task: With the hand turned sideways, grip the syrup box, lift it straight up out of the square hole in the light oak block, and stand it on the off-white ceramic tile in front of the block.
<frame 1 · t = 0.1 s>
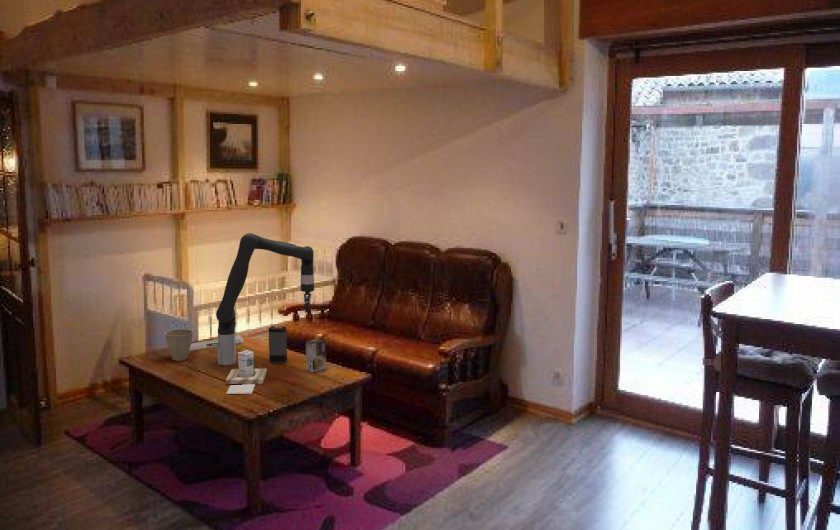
hand: (307, 310, 372), 29 cm above the table, tool pointing down, fingers open, 8 cm apart
syrup box: (246, 379, 346), resting in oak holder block
newspaper: (214, 346, 408), on the table
coffee box: (316, 369, 362), on the table
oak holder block: (246, 378, 346), on the table
plant pot: (180, 359, 378), on the table
electronic device: (278, 362, 375), on the table
ceramic tile: (241, 390, 328), on the table
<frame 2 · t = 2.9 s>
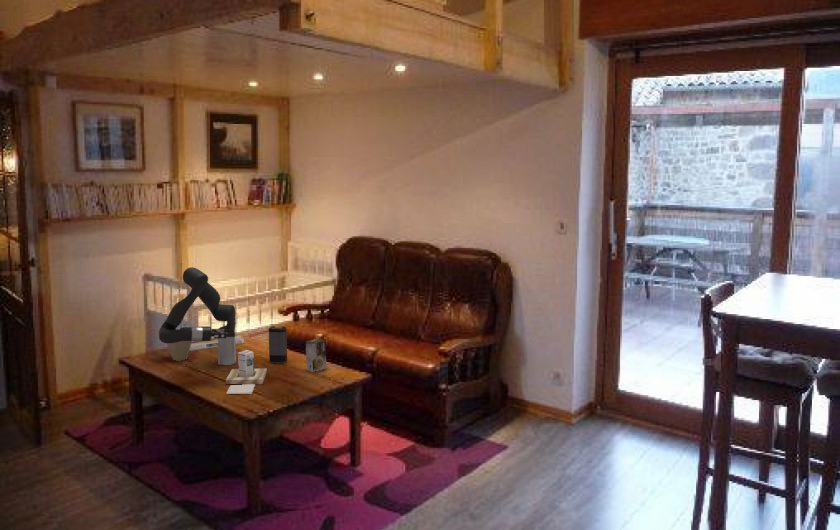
hand: (233, 333, 344), 24 cm above the table, tool horizontal, fingers open, 8 cm apart
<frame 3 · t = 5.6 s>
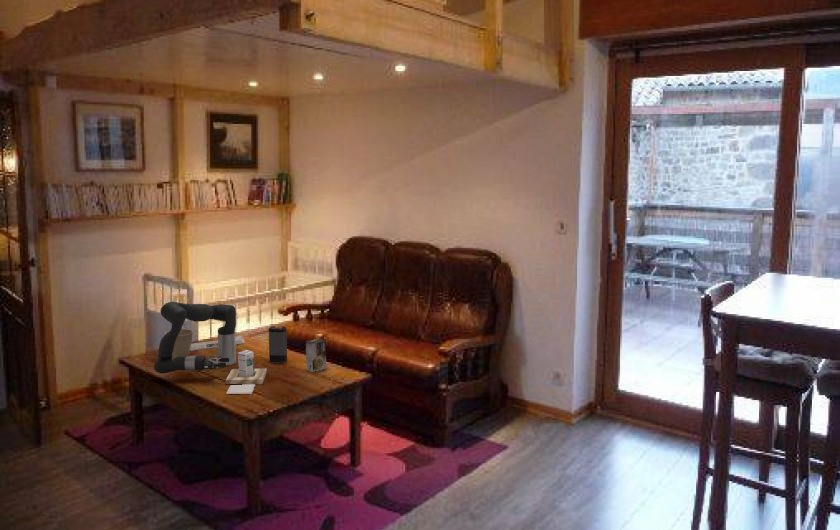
hand: (227, 362, 344), 9 cm above the table, tool horizontal, fingers open, 8 cm apart
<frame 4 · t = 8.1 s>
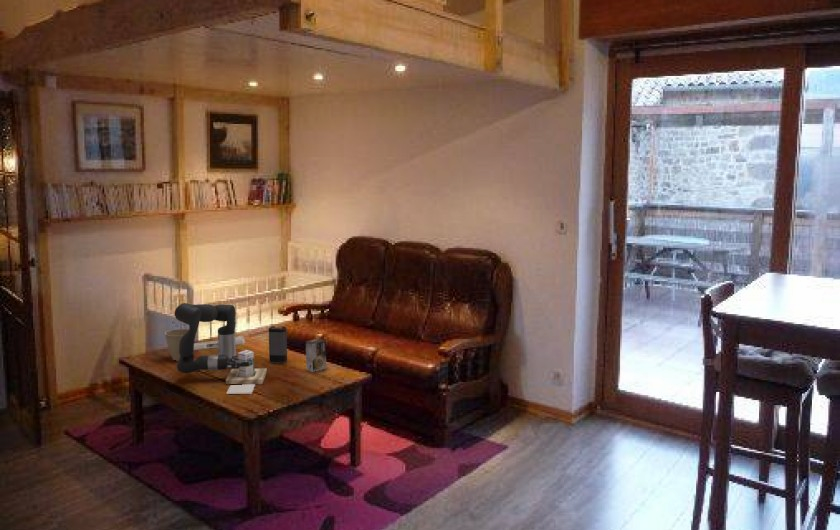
hand: (250, 361, 345), 9 cm above the table, tool horizontal, fingers closed on syrup box, 7 cm apart
syrup box: (246, 379, 346), resting in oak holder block, touching gripper
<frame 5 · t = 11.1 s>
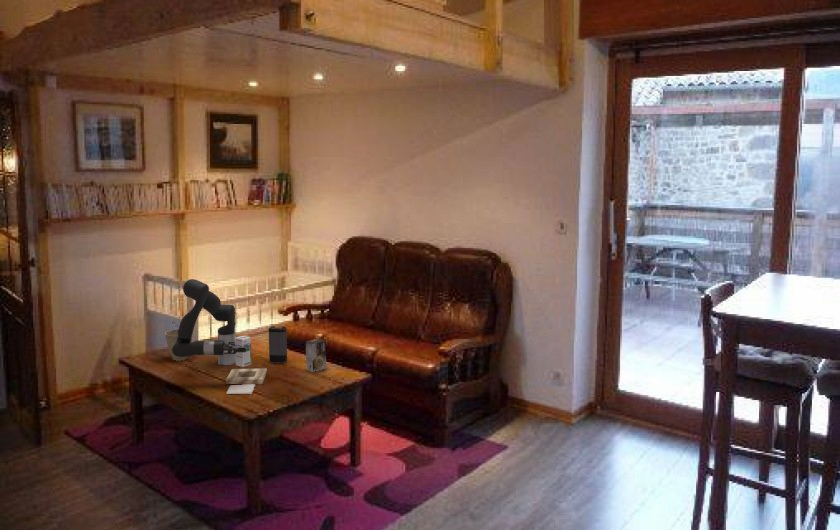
hand: (247, 347, 337), 19 cm above the table, tool horizontal, fingers closed on syrup box, 7 cm apart
syrup box: (243, 365, 338), point 9 cm above the table, touching gripper
when the fingers open (11 cm above the table, at t = 14.3 s): syrup box drops 1 cm, resting on ceramic tile.
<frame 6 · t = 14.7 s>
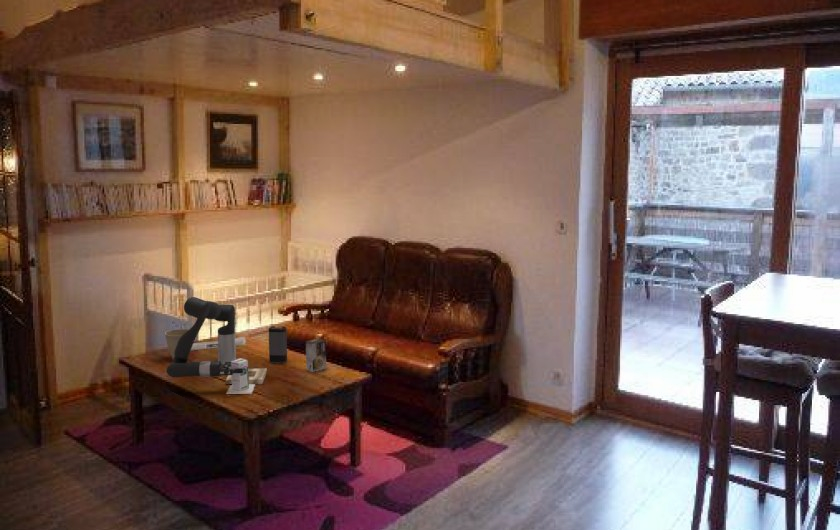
hand: (244, 368, 327), 12 cm above the table, tool horizontal, fingers open, 8 cm apart
syrup box: (240, 388, 328), point 1 cm above the table, touching ceramic tile
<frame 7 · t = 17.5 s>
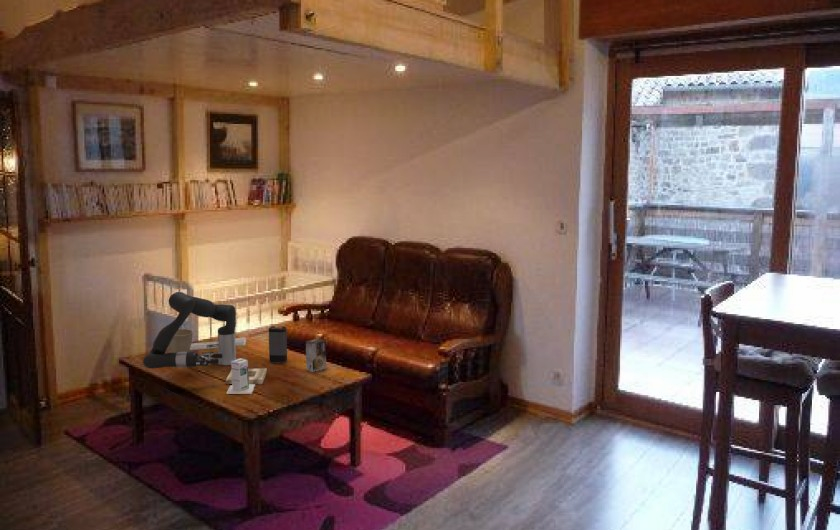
hand: (220, 358, 330), 15 cm above the table, tool horizontal, fingers open, 8 cm apart
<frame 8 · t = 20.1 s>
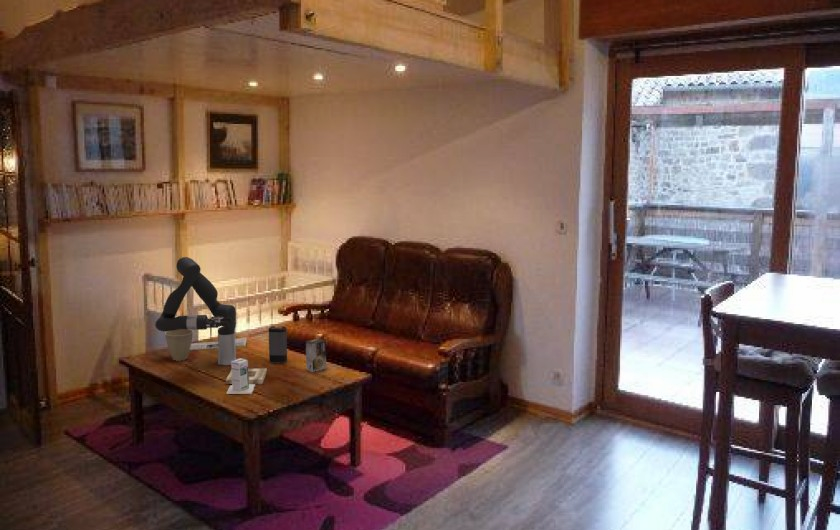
hand: (229, 321, 342), 30 cm above the table, tool horizontal, fingers open, 8 cm apart
at the end: syrup box inside the target area on the ceramic tile (0.2 cm from its centre), point 0.8 cm above the ceramic tile's base; syrup box tilted 0°; the gripper is holding nothing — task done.
